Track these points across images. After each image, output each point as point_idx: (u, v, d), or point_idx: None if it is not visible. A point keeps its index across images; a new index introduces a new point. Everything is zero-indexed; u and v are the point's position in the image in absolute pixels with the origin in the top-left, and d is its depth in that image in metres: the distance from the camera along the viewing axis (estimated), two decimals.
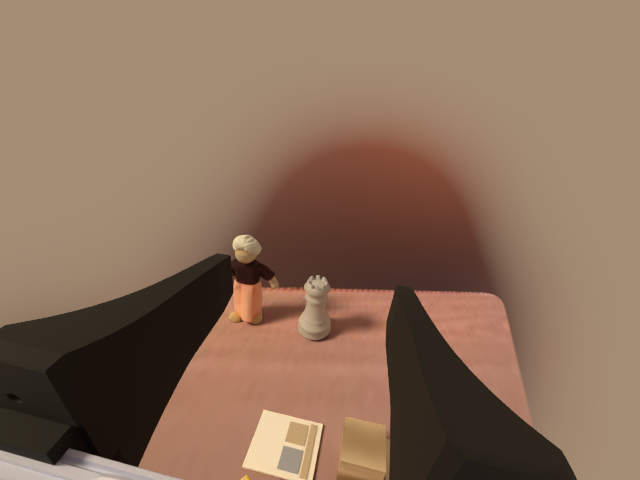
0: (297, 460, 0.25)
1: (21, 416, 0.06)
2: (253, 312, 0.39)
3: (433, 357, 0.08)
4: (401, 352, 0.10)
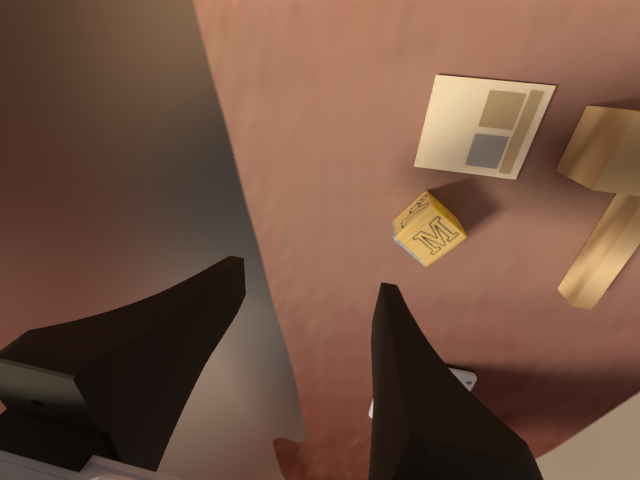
0: (497, 150, 0.17)
1: (44, 422, 0.06)
2: None
3: (410, 352, 0.08)
4: (383, 348, 0.10)
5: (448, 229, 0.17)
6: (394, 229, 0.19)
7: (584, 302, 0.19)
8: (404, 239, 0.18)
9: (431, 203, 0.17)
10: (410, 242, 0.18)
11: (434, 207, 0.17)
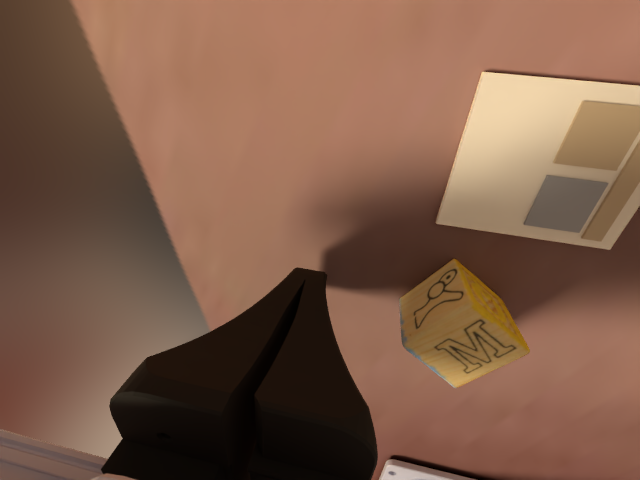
0: (584, 203, 0.10)
1: (166, 455, 0.06)
2: None
3: (305, 331, 0.08)
4: None
5: (498, 339, 0.10)
6: (403, 323, 0.12)
7: None
8: (420, 348, 0.11)
9: (468, 296, 0.10)
10: (429, 352, 0.11)
11: (474, 305, 0.09)
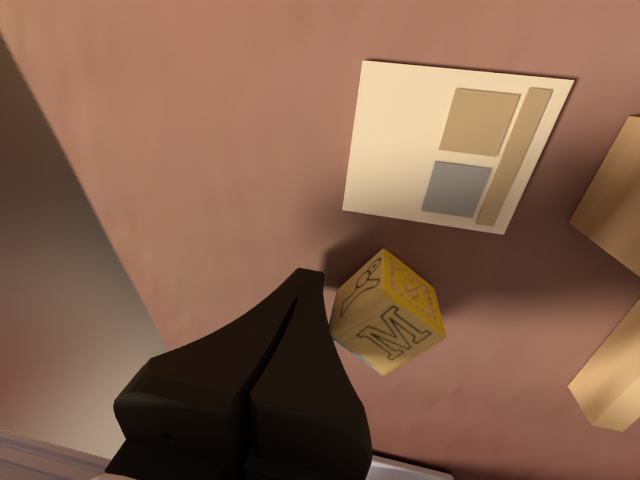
0: (473, 189, 0.10)
1: (170, 456, 0.06)
2: None
3: (301, 330, 0.08)
4: None
5: (413, 325, 0.10)
6: (333, 312, 0.12)
7: (611, 422, 0.12)
8: (343, 336, 0.11)
9: (382, 283, 0.10)
10: (353, 340, 0.11)
11: (386, 291, 0.10)
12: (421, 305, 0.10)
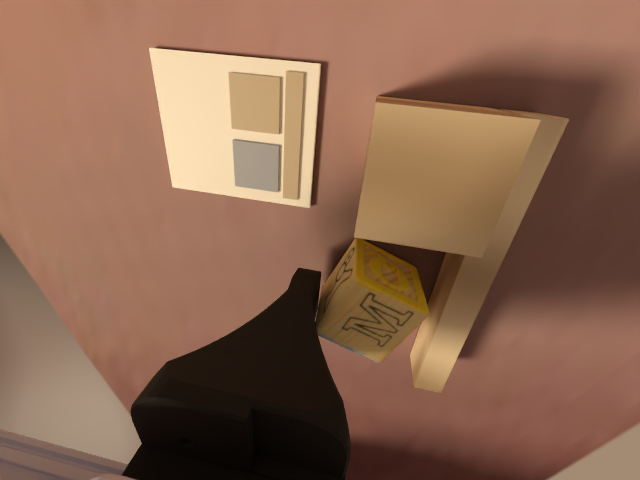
0: (271, 165, 0.11)
1: (187, 460, 0.06)
2: None
3: (287, 328, 0.08)
4: None
5: (394, 308, 0.10)
6: (319, 310, 0.12)
7: (428, 383, 0.13)
8: (330, 331, 0.11)
9: (354, 272, 0.10)
10: (340, 334, 0.11)
11: (359, 280, 0.10)
12: (400, 287, 0.10)
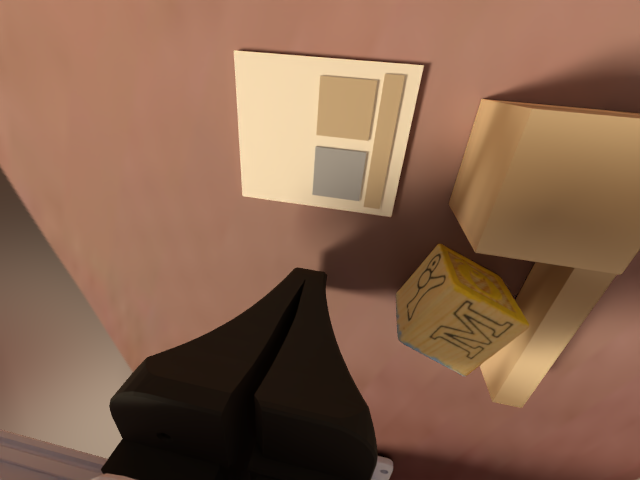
0: (355, 173, 0.11)
1: (166, 455, 0.06)
2: None
3: (305, 331, 0.08)
4: None
5: (491, 318, 0.09)
6: (398, 317, 0.11)
7: (509, 398, 0.12)
8: (416, 340, 0.10)
9: (450, 279, 0.09)
10: (427, 343, 0.10)
11: (456, 287, 0.09)
12: (494, 296, 0.10)
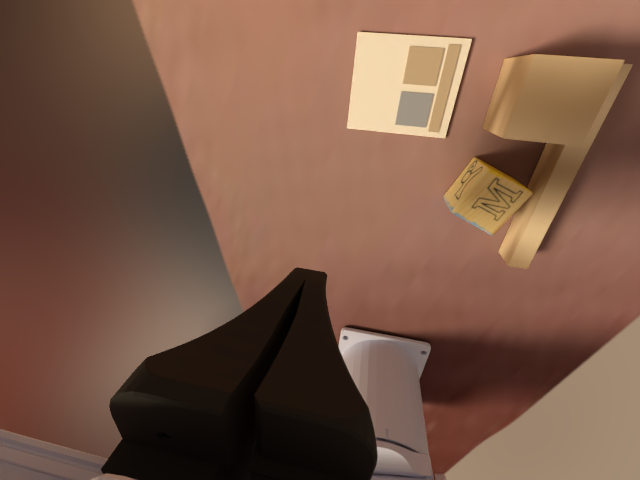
0: (424, 108, 0.17)
1: (167, 455, 0.06)
2: None
3: (305, 331, 0.08)
4: None
5: (510, 189, 0.16)
6: (449, 203, 0.18)
7: (519, 261, 0.19)
8: (463, 210, 0.17)
9: (485, 166, 0.16)
10: (469, 212, 0.17)
11: (490, 169, 0.16)
12: (511, 179, 0.16)
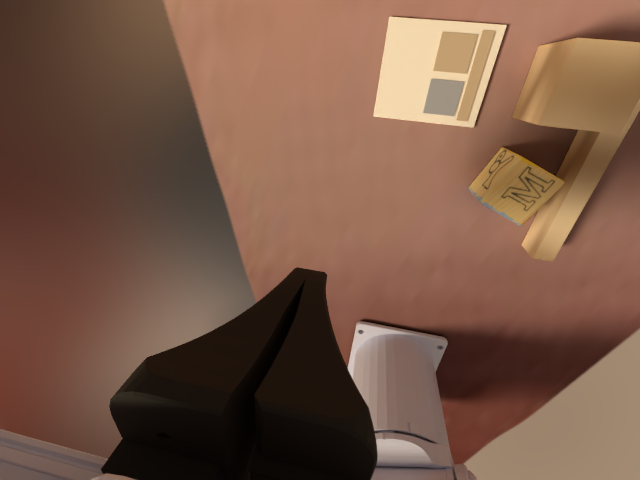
0: (454, 96, 0.17)
1: (166, 455, 0.06)
2: None
3: (305, 331, 0.08)
4: None
5: (542, 178, 0.16)
6: (476, 193, 0.18)
7: (545, 254, 0.19)
8: (492, 200, 0.17)
9: (517, 155, 0.16)
10: (499, 202, 0.17)
11: (522, 158, 0.16)
12: None
